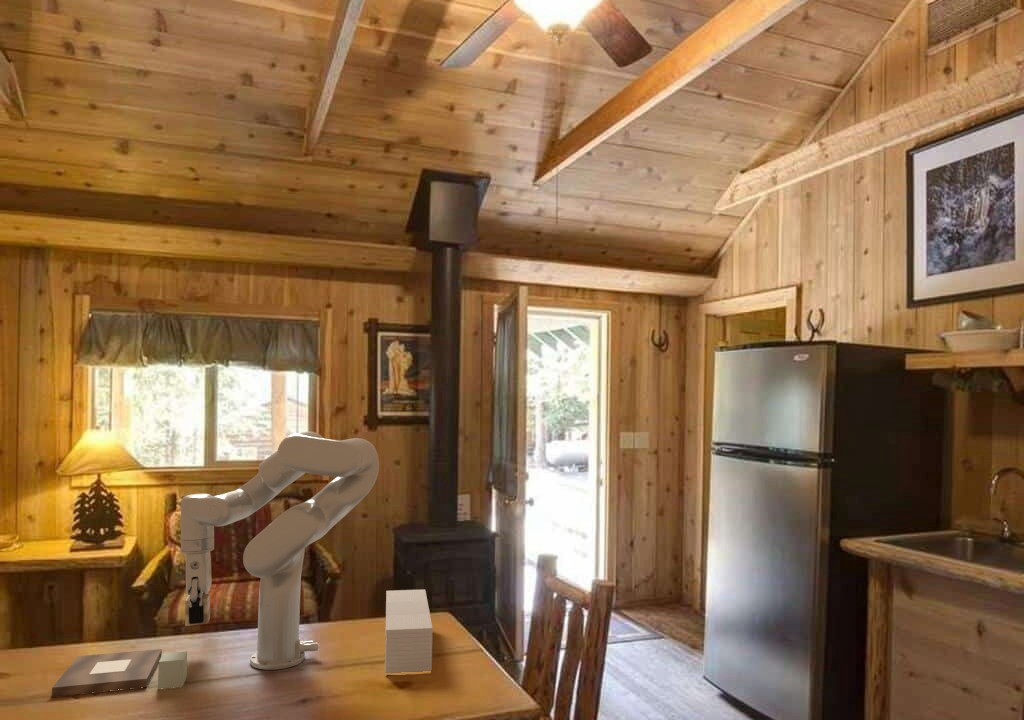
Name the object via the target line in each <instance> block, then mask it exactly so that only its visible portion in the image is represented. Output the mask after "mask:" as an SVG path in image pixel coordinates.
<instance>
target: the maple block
mask: <svg viewBox="0 0 1024 720" xmlns="http://www.w3.org/2000/svg"><path fill="white" fill-rule="evenodd" d="M198 597H199V598H200V596H198ZM189 603H190V595H188V594H187V596H186V599H185V601H184V619H185V621H184V626H185V627H188V626H189V627H190V626H199V625H207V624H208V623H209V621H210V618H211V593H210V592H207V593H206V594H203V596H202V605H204V621H203V622H202V623H196V624H189Z"/></svg>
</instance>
